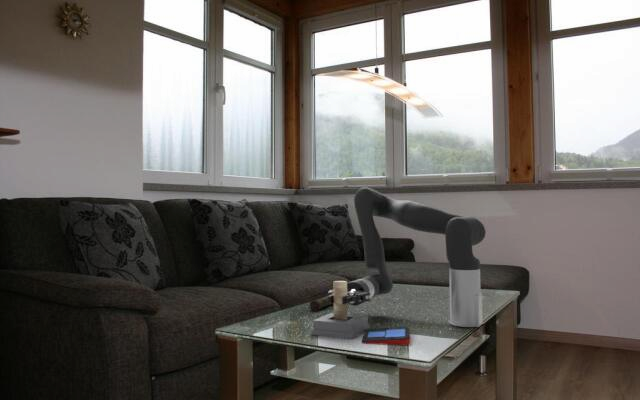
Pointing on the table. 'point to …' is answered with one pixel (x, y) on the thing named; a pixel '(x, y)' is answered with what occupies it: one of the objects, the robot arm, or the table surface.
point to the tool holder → (340, 326)
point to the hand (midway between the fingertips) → (336, 300)
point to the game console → (387, 335)
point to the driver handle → (340, 300)
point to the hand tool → (320, 303)
